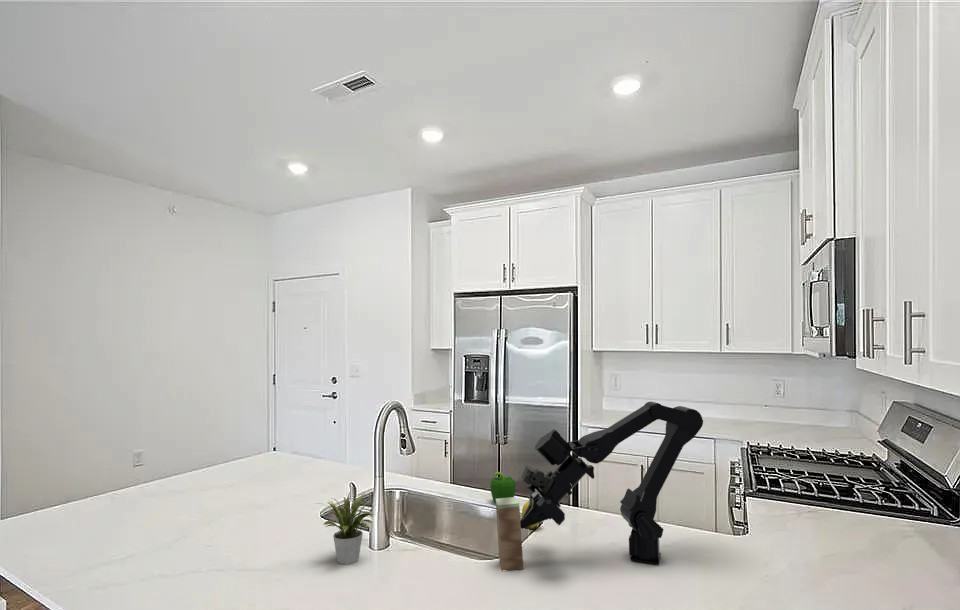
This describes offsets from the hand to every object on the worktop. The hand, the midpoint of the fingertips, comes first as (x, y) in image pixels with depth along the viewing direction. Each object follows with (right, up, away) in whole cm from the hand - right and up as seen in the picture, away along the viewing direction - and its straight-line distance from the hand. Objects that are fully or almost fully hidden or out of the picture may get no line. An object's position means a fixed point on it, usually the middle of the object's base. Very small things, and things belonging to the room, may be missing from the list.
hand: (520, 526), depth 123 cm
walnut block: (-2, -9, -1) cm, 9 cm away
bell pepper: (-2, -12, +47) cm, 49 cm away
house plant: (-43, -10, +3) cm, 44 cm away
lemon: (+5, -11, +23) cm, 26 cm away
